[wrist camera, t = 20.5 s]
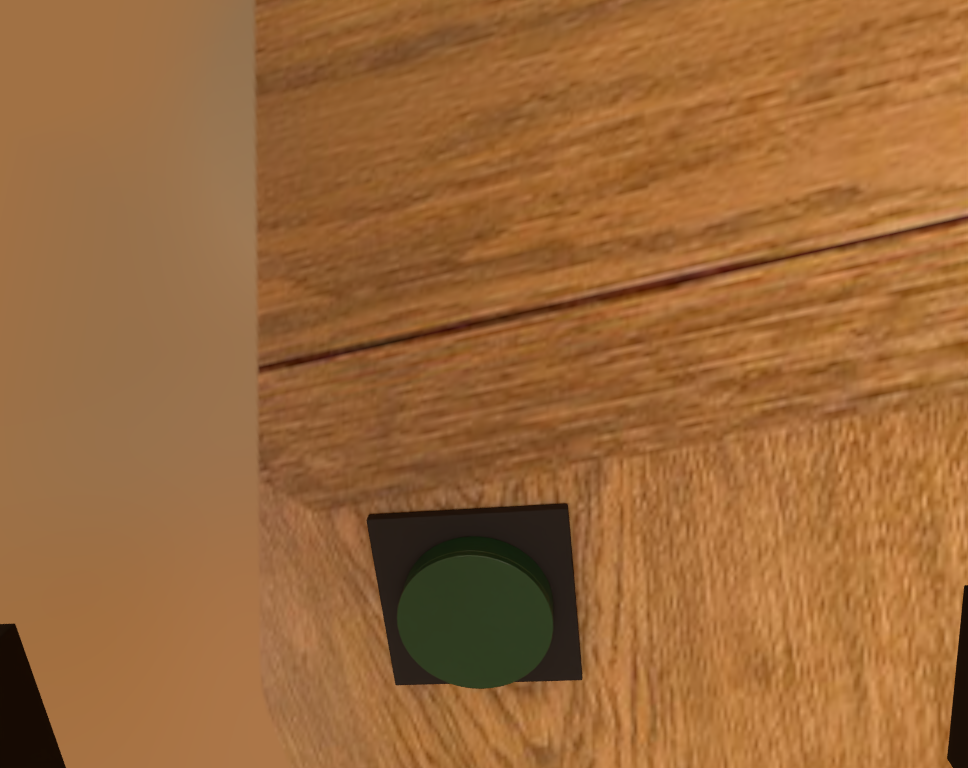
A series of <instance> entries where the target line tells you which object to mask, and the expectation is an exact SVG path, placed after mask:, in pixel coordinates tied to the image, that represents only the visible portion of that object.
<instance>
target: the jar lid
mask: <svg viewBox="0 0 968 768" xmlns="http://www.w3.org/2000/svg"><path fill="white" fill-rule="evenodd" d="M397 625H398V630H399V634H400V637H401V639H402V642H403V644H404V646H405V648H406V649H407V651H408V652H409V654H410V655H411V657H412V658H413V659H414V660H415V661H416V662H417V663H418V664H419V665H420V666H421V667H422V668H423V669H425V670H426V671H427V672H429V673H430V674H432V675H433V676H435V677H437V678H439V679H441V680H443V681H445V682H448V683H450V684H453V685H457V686H461V687H467V688H478V689H484V688H494V687H500V686H504V685H507V684H510V683H512V682H515V681H517V680H519V679H521V678H522V677H524V676H526V675H527V674H529V673H530V672H531V671H532V670H534V669H535V668H536V666H537V665H538V664H539V663H540V662H541V661H542V659H543V658H544V656H545V655H546V653H547V651H548V649H549V647H550V644H551V640H552V635H553V595H552V591H551V587H550V584H549V582H548V580H547V578H546V576H545V574H544V573H543V571H542V570H541V568H540V567H539V566H538V565H537V564H536V563H535V561H534V560H533V559H531V558H530V557H529V556H528V555H527V554H525V553H524V552H523V551H521V550H520V549H518V548H516V547H514V546H512V545H511V544H508V543H506V542H503V541H500V540H496V539H493V538H487V537H475V536H470V537H460V538H455V539H451V540H448V541H445V542H442V543H440V544H438V545H436V546H434V547H433V548H431V549H430V550H428V551H427V552H426V553H424V554H423V555H422V556H421V557H420V558H419V559H418V560H417V562H416V563H415V564H414V565H413V567H412V569H411V570H410V572H409V574H408V577H407V579H406V582H405V585H404V588H403V591H402V594H401V597H400V600H399V604H398V609H397Z"/></svg>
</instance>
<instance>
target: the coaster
mask: <svg viewBox="0 0 968 768" xmlns="http://www.w3.org/2000/svg"><path fill="white" fill-rule="evenodd" d="M367 525H368V531H369V537H370V542H371V548H372V554H373V559H374V565H375V571H376V576H377V582H378V588H379V593H380V599H381V605H382V610H383V616H384V622H385V627H386V633H387V639H388V644H389V650H390V656H391V661H392V667H393V673H394V678H395V684H396V685H420V684H450V683H448V682H445V681H443V680H441V679H439V678H437V677H435V676H433V675H432V674H430V673H429V672H427V671H426V670H425V669H423V668H422V667H421V666H420V665H419V664H418V663H417V662H416V661H415V660H414V659H413V658H412V657H411V655H410V654H409V652H408V651H407V649H406V648H405V646H404V644H403V642H402V639H401V637H400V634H399V630H398V625H397V609H398V604H399V600H400V597H401V594H402V591H403V588H404V585H405V582H406V579H407V577H408V574H409V572H410V570H411V569H412V567H413V565H414V564H415V563H416V562H417V560H418V559H419V558H420V557H421V556H422V555H423V554H424V553H426V552H427V551H428V550H430V549H431V548H433V547H434V546H436V545H438V544H440V543H442V542H445V541H448V540H451V539H455V538H460V537H470V536H475V537H487V538H493V539H496V540H500V541H503V542H506V543H508V544H511V545H512V546H514V547H516V548H518V549H520V550H521V551H523V552H524V553H525V554H527V555H528V556H529V557H530V558H531V559H533V560H534V561H535V563H536V564H537V565H538V566H539V567H540V568H541V570H542V571H543V573H544V574H545V576H546V578H547V580H548V582H549V584H550V587H551V591H552V595H553V635H552V640H551V644H550V647H549V649H548V651H547V653H546V655H545V656H544V658H543V659H542V661H541V662H540V663H539V664H538V665H537V666H536V668H535V669H534V670H532V671H531V672H530V673H529V674H527V675H526V676H524V677H522V678H521V679H519V680H517V681H515V682H528V681H564V680H582V666H581V655H580V643H579V631H578V619H577V607H576V595H575V583H574V571H573V560H572V548H571V536H570V524H569V512H568V504H552V505H534V506H516V507H498V508H480V509H463V510H445V511H427V512H409V513H391V514H373V515H369V516H368V518H367Z"/></svg>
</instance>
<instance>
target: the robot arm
mask: <svg viewBox="0 0 968 768" xmlns="http://www.w3.org/2000/svg"><path fill="white" fill-rule="evenodd" d="M947 759H948V761H949V762H950V764H951V765H952V767H953V768H968V585H964V594H963V604H962V614H961V624H960V634H959V645H958V655H957V665H956V675H955V685H954V695H953V705H952V715H951V726H950V736H949V746H948V756H947ZM0 768H66V767H65V764H64V761H63V758H62V755H61V752H60V750H59V747H58V744H57V741H56V738H55V735H54V733H53V730H52V727H51V724H50V722H49V718H48V716H47V713H46V710H45V707H44V705H43V702H42V699H41V696H40V693H39V690H38V688H37V685H36V682H35V679H34V676H33V673H32V671H31V668H30V665H29V662H28V659H27V656H26V654H25V651H24V648H23V645H22V642H21V639H20V637H19V634H18V631H17V628H16V625H15V624H0Z"/></svg>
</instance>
